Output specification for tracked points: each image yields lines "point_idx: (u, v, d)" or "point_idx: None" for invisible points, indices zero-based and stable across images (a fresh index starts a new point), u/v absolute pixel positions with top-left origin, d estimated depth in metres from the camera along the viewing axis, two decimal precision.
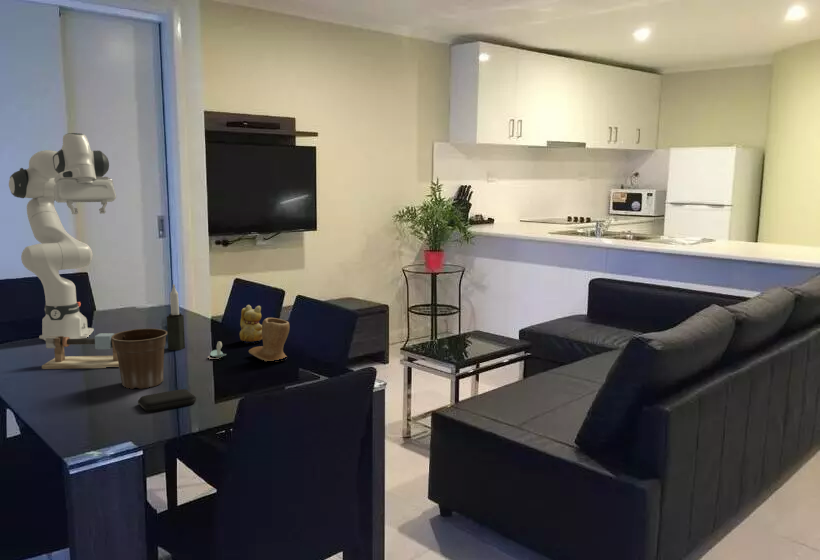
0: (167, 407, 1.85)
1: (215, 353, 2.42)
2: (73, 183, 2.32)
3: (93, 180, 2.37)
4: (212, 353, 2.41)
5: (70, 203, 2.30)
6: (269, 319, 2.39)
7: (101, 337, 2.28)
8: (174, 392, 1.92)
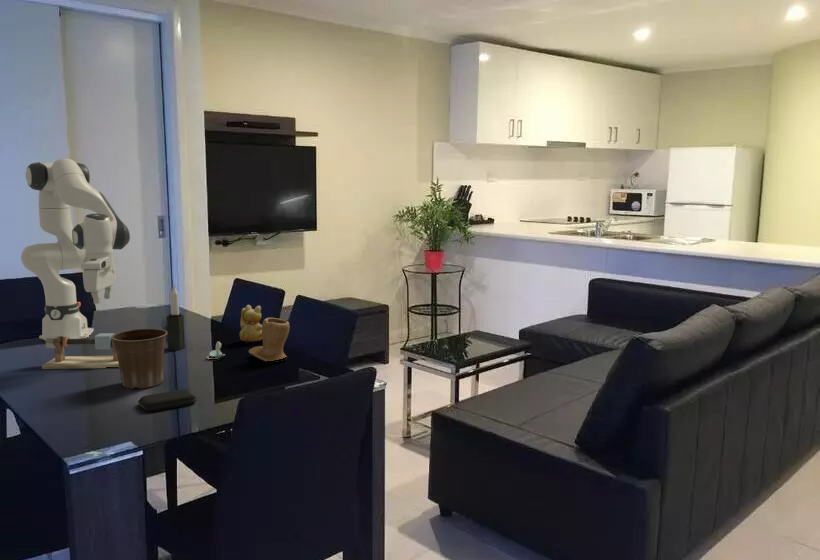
0: (167, 407, 1.85)
1: (214, 353, 2.41)
2: (102, 272, 2.23)
3: None
4: (211, 353, 2.41)
5: (98, 293, 2.22)
6: (269, 319, 2.39)
7: (101, 337, 2.28)
8: (174, 392, 1.92)
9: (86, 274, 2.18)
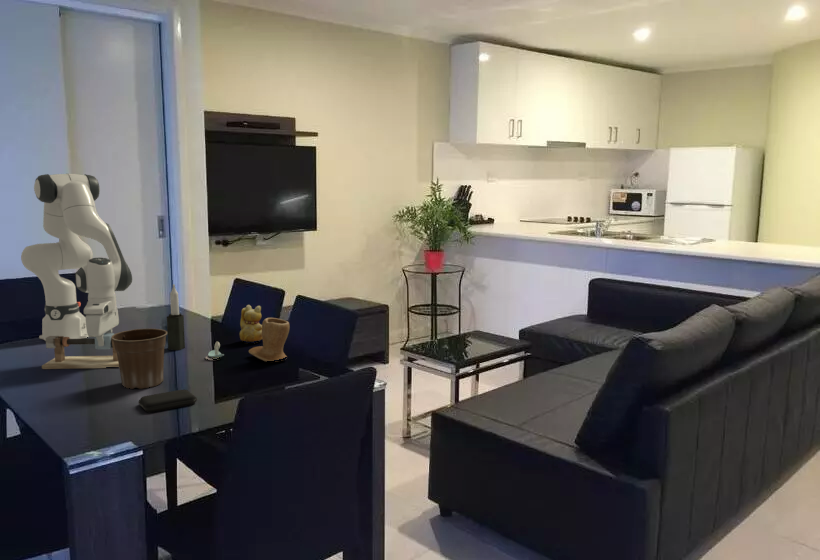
0: (167, 407, 1.85)
1: (213, 353, 2.41)
2: (104, 316, 2.25)
3: None
4: (210, 353, 2.41)
5: (102, 336, 2.26)
6: (269, 319, 2.39)
7: None
8: (175, 392, 1.92)
9: (89, 319, 2.20)
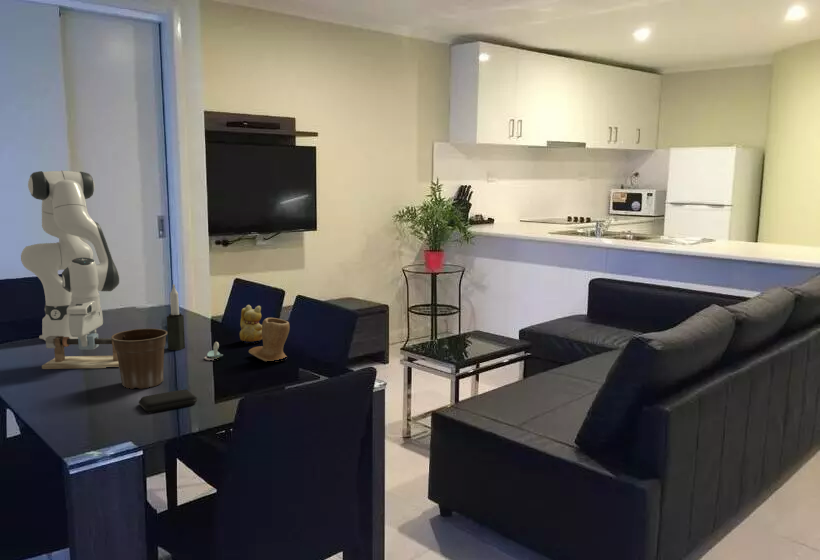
0: (168, 408, 1.85)
1: (212, 353, 2.41)
2: (88, 316, 2.25)
3: None
4: (209, 353, 2.40)
5: (86, 336, 2.26)
6: (269, 319, 2.39)
7: None
8: (175, 393, 1.91)
9: (72, 319, 2.19)
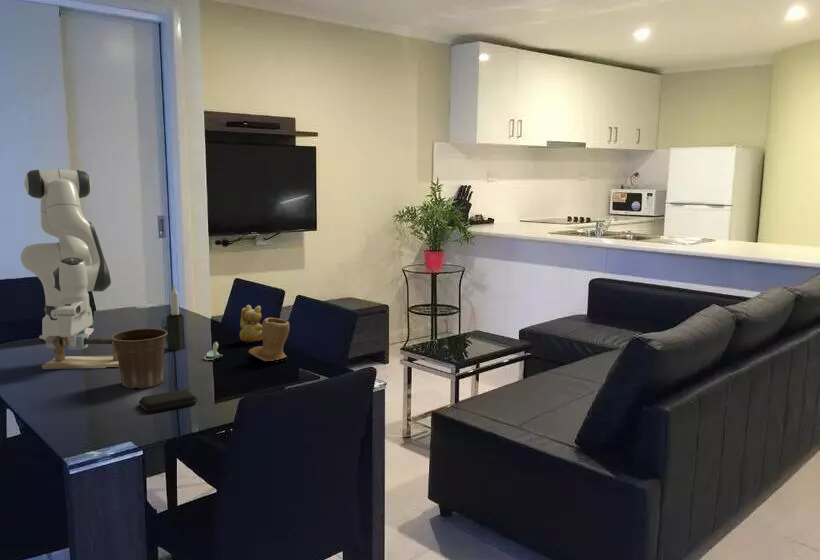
0: (168, 408, 1.85)
1: (211, 354, 2.41)
2: (77, 316, 2.25)
3: None
4: (208, 354, 2.40)
5: (75, 337, 2.25)
6: (269, 319, 2.39)
7: None
8: (175, 393, 1.91)
9: (60, 320, 2.19)
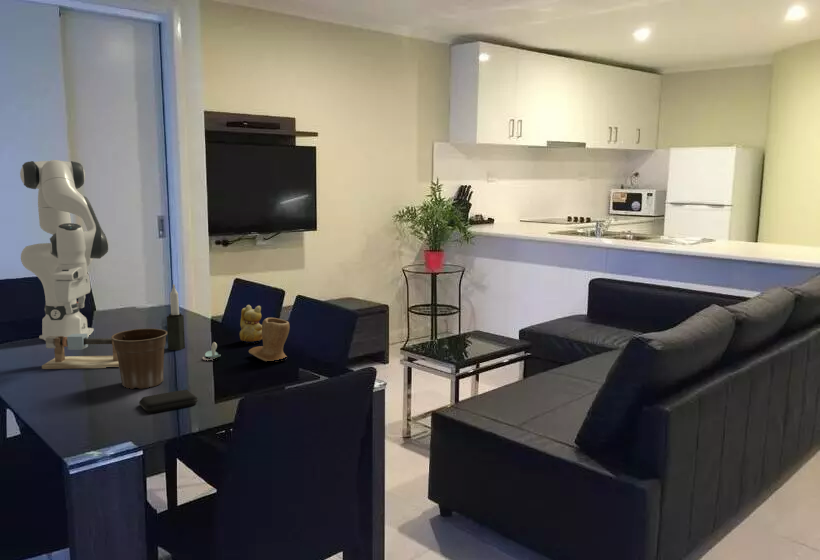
0: (168, 408, 1.85)
1: (210, 354, 2.41)
2: (74, 282, 2.23)
3: None
4: (207, 354, 2.40)
5: (70, 304, 2.22)
6: (269, 319, 2.39)
7: (74, 337, 2.27)
8: (175, 393, 1.91)
9: (58, 285, 2.17)
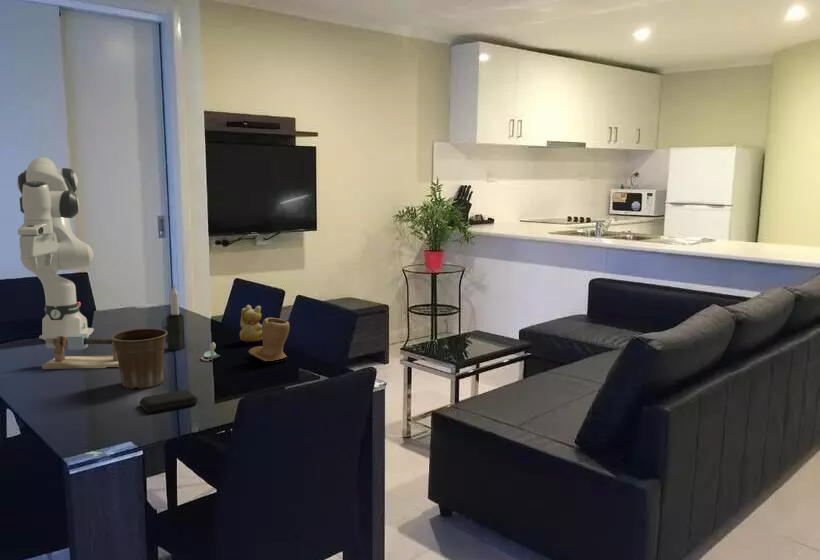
0: (169, 408, 1.84)
1: (209, 354, 2.40)
2: (40, 238, 2.28)
3: (48, 233, 2.34)
4: (206, 354, 2.40)
5: (36, 259, 2.27)
6: (269, 319, 2.39)
7: (74, 337, 2.27)
8: (176, 393, 1.91)
9: (23, 239, 2.22)
